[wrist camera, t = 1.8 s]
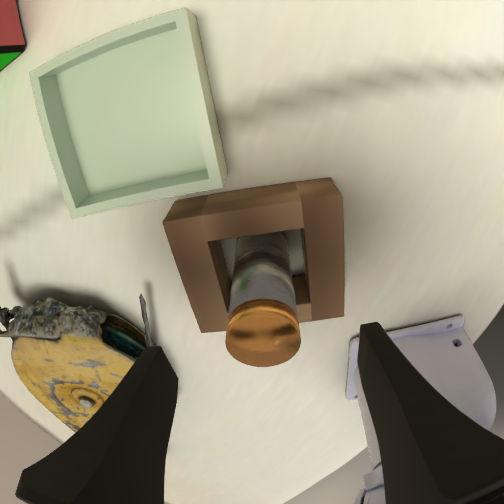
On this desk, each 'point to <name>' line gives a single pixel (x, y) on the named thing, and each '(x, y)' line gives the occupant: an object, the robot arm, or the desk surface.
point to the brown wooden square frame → (252, 223)
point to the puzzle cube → (10, 33)
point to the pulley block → (72, 354)
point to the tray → (131, 116)
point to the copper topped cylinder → (262, 302)
